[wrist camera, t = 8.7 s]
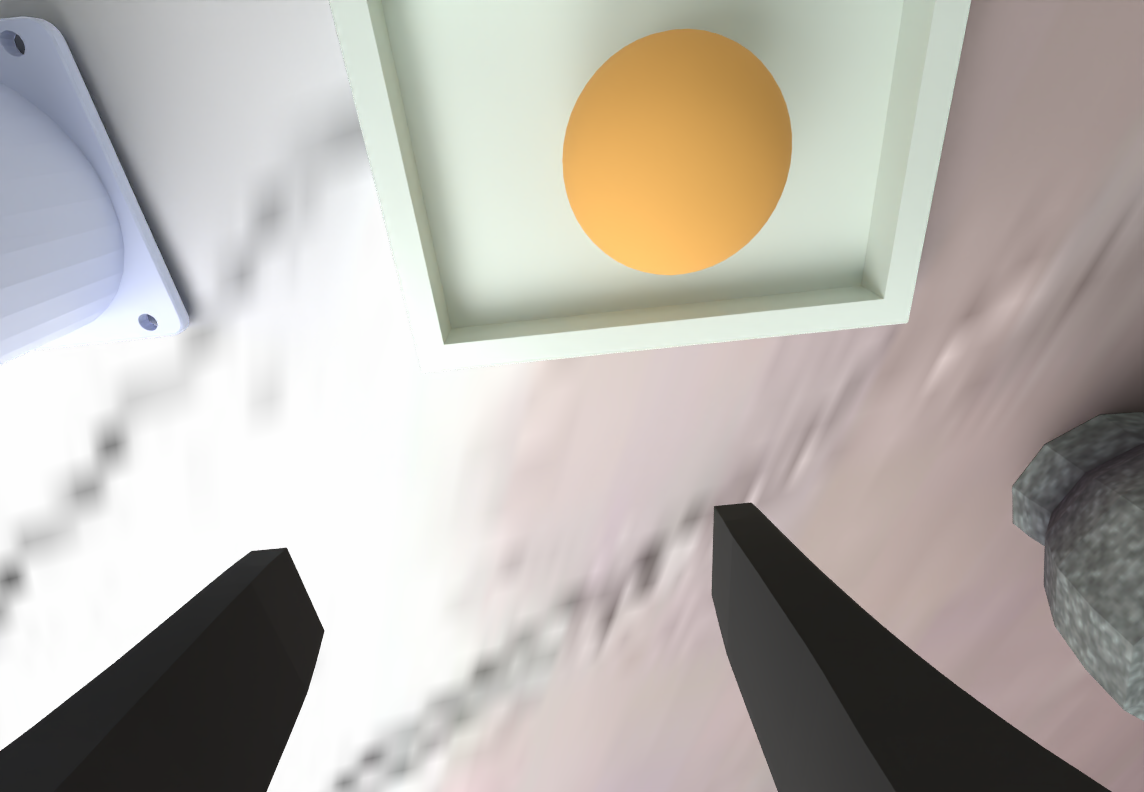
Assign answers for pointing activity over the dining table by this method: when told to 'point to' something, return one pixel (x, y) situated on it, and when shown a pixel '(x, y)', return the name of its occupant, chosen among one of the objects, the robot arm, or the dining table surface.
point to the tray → (537, 190)
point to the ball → (677, 151)
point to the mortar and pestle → (1093, 546)
